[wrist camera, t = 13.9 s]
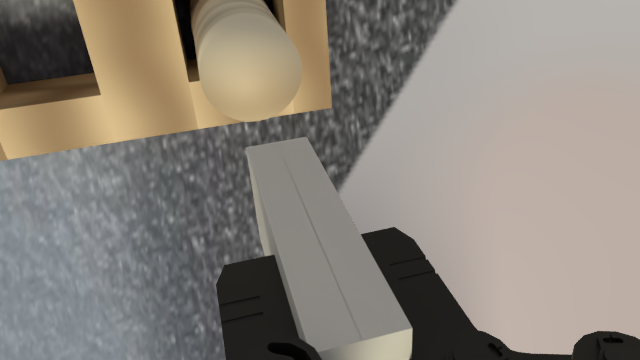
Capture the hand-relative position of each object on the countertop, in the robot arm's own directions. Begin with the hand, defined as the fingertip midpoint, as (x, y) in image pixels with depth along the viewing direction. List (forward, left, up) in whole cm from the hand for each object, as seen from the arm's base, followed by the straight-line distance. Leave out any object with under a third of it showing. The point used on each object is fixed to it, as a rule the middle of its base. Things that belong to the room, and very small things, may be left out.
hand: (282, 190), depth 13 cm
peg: (0, 0, -21) cm, 21 cm away
